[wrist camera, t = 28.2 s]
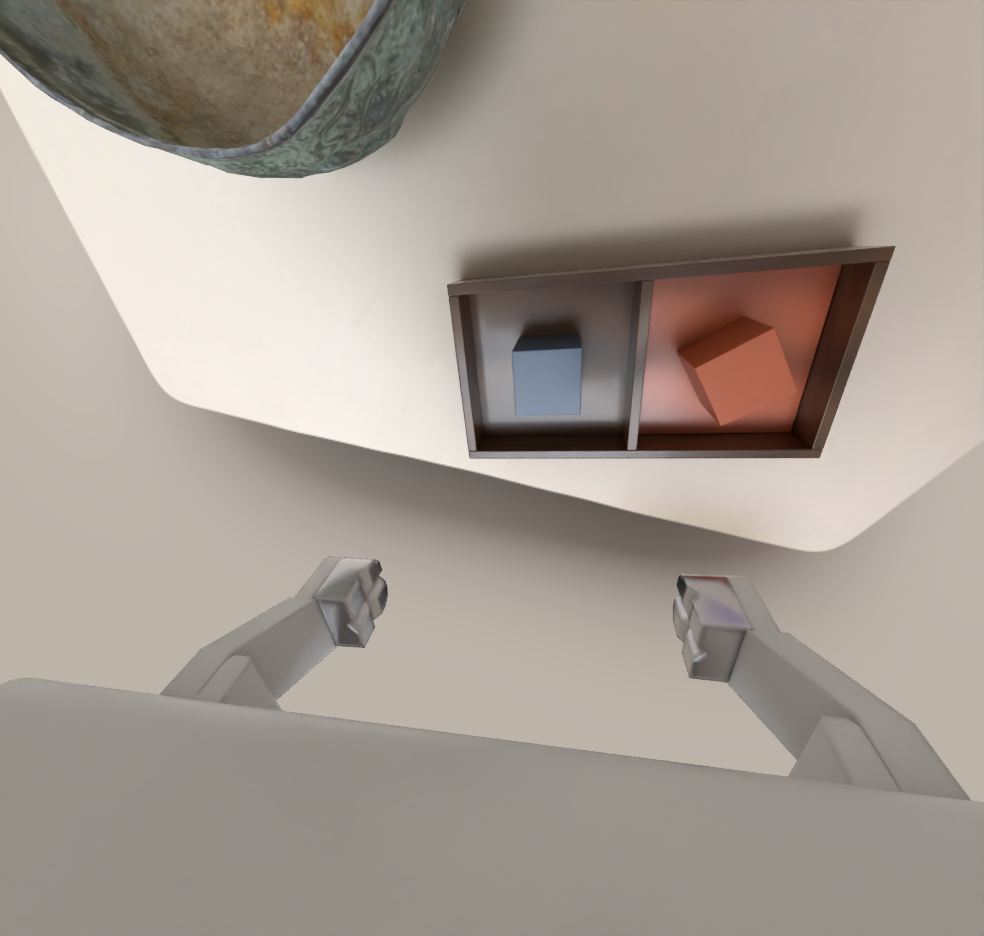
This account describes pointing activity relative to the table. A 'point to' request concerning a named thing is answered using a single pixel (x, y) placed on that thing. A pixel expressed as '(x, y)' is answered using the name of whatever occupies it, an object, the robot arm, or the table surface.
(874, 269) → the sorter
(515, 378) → the slate block
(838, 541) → the table surface
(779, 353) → the terracotta block
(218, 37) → the bowl
